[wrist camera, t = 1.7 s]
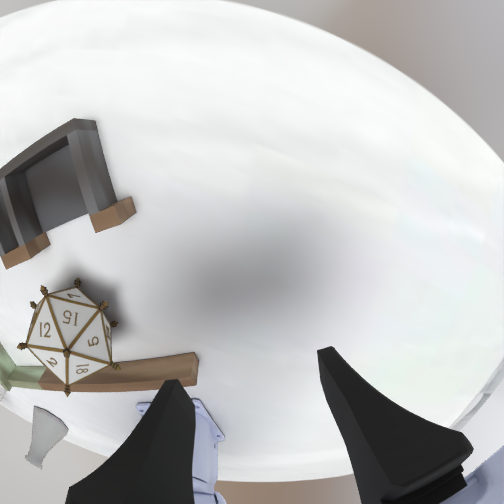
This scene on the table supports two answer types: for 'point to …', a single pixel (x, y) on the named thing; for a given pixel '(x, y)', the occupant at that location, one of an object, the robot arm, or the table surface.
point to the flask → (44, 435)
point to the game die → (70, 335)
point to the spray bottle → (1, 392)
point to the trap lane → (35, 240)
